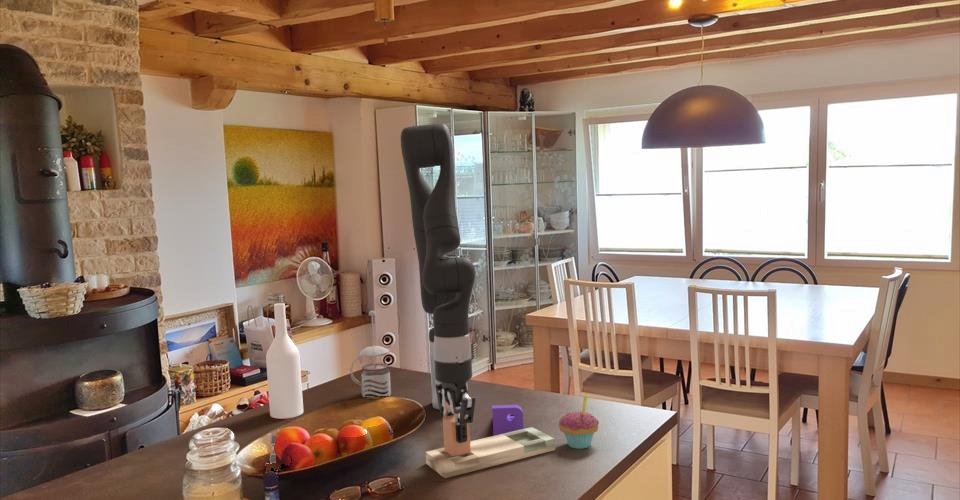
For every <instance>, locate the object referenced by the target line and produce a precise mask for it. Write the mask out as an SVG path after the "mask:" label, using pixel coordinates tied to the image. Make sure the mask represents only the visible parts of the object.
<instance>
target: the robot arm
mask: <svg viewBox="0 0 960 500" xmlns="http://www.w3.org/2000/svg"><path fill="white" fill-rule="evenodd" d="M400 148H401V155H402V160H403V165H404V170H405V174H406V180H407V187H408V191H409V192H408V193H409V199H410V209H411V220H412V227H413V228H412V229H413V236H414V241H415V247H416V255H417V259H418V271H419V272H418V273H419V286H420V300H421V305H422V308H423V311H424V312H425V313H427V314H429V315H431V314H432V316H433V327H432V328H430V329H429V330H428V331H429V332H428V340H429V341H428V342H429V360H430V361H429V362H430V363H429V365H430V377H431V378H430V379H431V380H430V382H431V399H432V400H431V401H432V407H433V408H434V409H435V410H437V411H439V412H440V413H443V417H447V416H451V415H454V417H455V423H456V441H457V442H458V443H463V442H466V441H467V423H469V424H472V423H473V422H474V413H475V406H476V397H475V396H470V395H469V391H468V390H469V389H468V388H469V387H468V381H470V380H471V379H472V378H473V364H472V363H473V362H472V360H473V359H472V344H471V339H470V325H469V323H470V322H469V311H470V310H469V308H470V301H471V296H472V292H473V288H474V284H475V279H476V269H475V266H474V263H473V262H472V260H471V259H470V258H468V257H466V256H458V257H457V256H456V257H444V255H445V254H449V253H450V252H453V251H455V250H457V249H458V248H460V244H461V233H460V227H459V222H458V216H457V207H456V184H455V183H456V179H455V177H456V176H455V163H454V162H455V161H454V147H453V140H452V135H451V131H450V129H449V127H448V126H447V125H446V124H445V123H431V124H429V123H428V124H422V125H413V126H407V127H404V128H403V129H402V131H401V133H400ZM433 167H439V168H440V169H439V175H438V178H437V180H436V183H435V185H434V187H433V189H432V188H431V186H429V183H427V181H426V180H425V177H424V176H423V174H422V172H421V170H420V169H423V168H424V169H425V168H433ZM459 414H460V417H459Z"/></svg>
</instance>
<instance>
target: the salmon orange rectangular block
mask: <svg viewBox="0 0 960 500" xmlns="http://www.w3.org/2000/svg"><path fill="white" fill-rule="evenodd" d="M459 417H460V413H459ZM442 428H443V448H444V451H446V452H447V453H449V454H450V455H451V456H453V457H454V456H458V455H462V454H466V453H470V452H471V449H470V441H471V433H470V431H471V430H470V429H471V428H470V423H467V441H466V442H463V443H458V442H457V441H456V423H455V417H454V415H451V416H447V417H444V416H443V417H442Z"/></svg>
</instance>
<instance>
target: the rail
mask: <svg viewBox="0 0 960 500" xmlns="http://www.w3.org/2000/svg"><path fill="white" fill-rule="evenodd" d="M555 440H556V439H555V438H554V437H553V436H550V435H548V434H546V433H544V432H543V431H541V430H540V429H536V428H534V427H533V426H529V427H526V428H523V429H521V430H517V431H512V432H508V433H504V434H500V435H495V436H493V435H492V436H487V437H483V438H479V439H474V440H470V449H471V452H470V453H466V454H462V455H458V456H454V457H453V456H451V455H450V454H449V453H447V452H446V451H444V447H440V448H436V449H432V450H427V451H425V464H426V465H428V467H430V468H431V469H432V470H433V471H435V472H436V473H438V474H439V475H440V476H441V477H442V478H444V479H448V478H451V477H455V476H459V475H463V474H468V473H471V472H475V471H479V470H483V469H487V468H491V467H494V466H499V465H502V464H507V463H509V462H510V463H511V462H514V461H517V460H522V459H525V458H528V457H529V458H530V457H533V456H537V455H541V454H545V453H548V452H552V451H555V450H556V441H555Z"/></svg>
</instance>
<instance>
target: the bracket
mask: <svg viewBox="0 0 960 500" xmlns="http://www.w3.org/2000/svg"><path fill="white" fill-rule="evenodd" d="M491 406H492V407H491V409H492V430H493V433H492V434H493V435H492V436H495V435H500V434H504V433H508V432H512V431H517V430H521V429H524V417H523V416H524V414H523V413H524V412H523V408H522V407H521V406H520V405H519V404H518V405H517V404H505V405H504V404H503V405H501V404H500V405H497V404H496V405H491Z"/></svg>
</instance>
